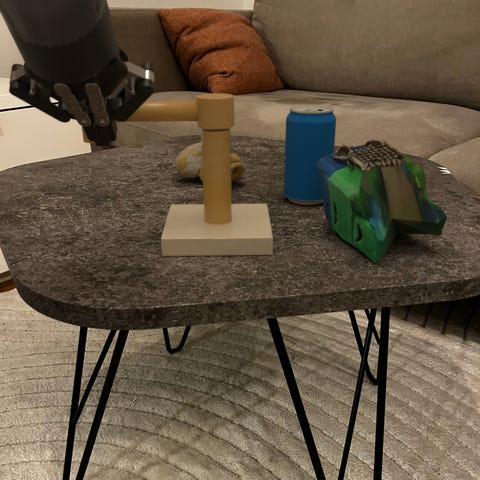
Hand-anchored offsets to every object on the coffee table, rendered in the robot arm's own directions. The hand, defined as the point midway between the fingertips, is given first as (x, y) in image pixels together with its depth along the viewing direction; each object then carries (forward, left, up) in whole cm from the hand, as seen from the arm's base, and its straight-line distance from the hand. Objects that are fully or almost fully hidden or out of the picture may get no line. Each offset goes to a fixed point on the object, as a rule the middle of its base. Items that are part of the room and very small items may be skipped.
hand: (104, 138), depth 59 cm
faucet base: (+11, +5, -12) cm, 17 cm away
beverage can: (+23, +19, -12) cm, 32 cm away
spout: (+5, +5, -1) cm, 7 cm away
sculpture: (+29, +3, -12) cm, 32 cm away
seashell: (+9, +30, -12) cm, 33 cm away
